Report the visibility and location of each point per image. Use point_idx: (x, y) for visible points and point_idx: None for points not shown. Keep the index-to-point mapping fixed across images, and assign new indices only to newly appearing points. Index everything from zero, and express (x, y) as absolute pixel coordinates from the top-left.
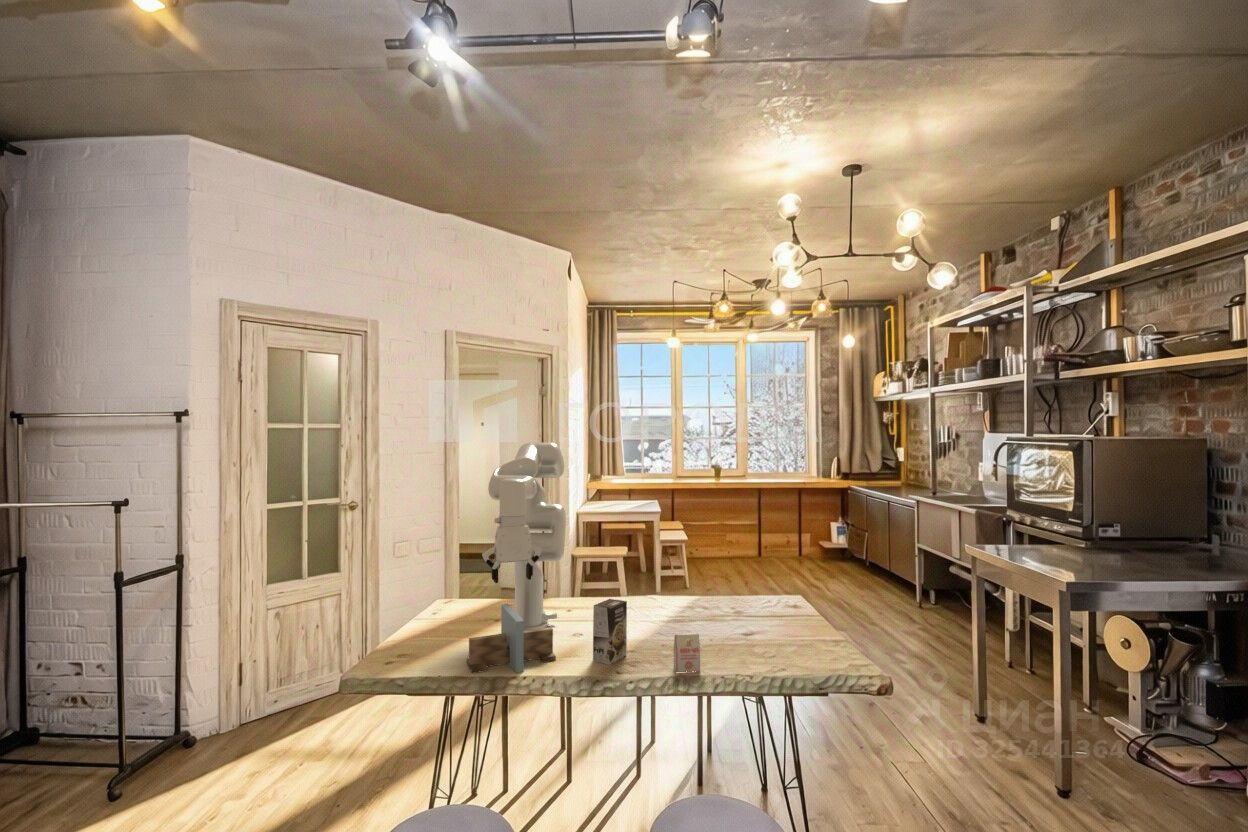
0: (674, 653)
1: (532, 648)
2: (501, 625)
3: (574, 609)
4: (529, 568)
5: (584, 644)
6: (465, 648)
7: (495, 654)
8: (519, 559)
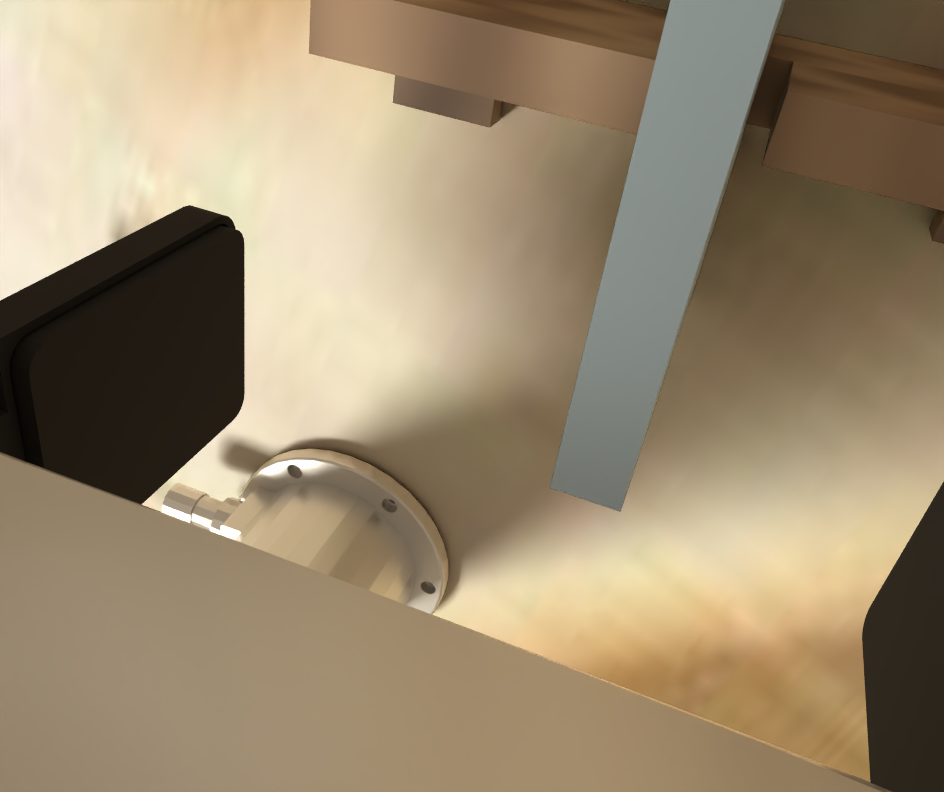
0: None
1: (555, 3)
2: (659, 393)
3: None
4: (49, 318)
5: (146, 53)
6: (858, 509)
7: (904, 78)
8: (102, 531)
